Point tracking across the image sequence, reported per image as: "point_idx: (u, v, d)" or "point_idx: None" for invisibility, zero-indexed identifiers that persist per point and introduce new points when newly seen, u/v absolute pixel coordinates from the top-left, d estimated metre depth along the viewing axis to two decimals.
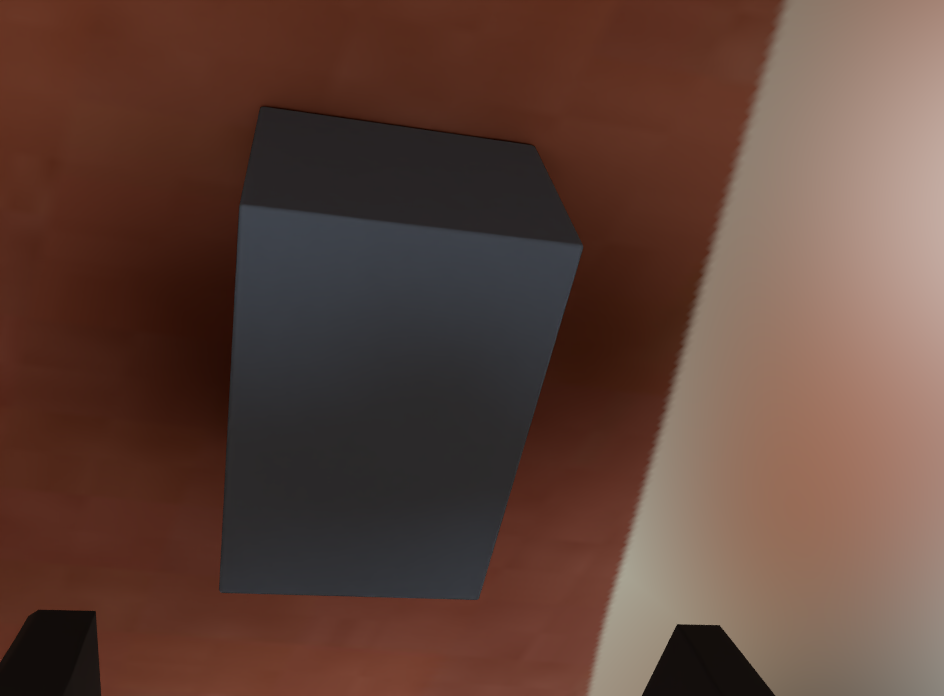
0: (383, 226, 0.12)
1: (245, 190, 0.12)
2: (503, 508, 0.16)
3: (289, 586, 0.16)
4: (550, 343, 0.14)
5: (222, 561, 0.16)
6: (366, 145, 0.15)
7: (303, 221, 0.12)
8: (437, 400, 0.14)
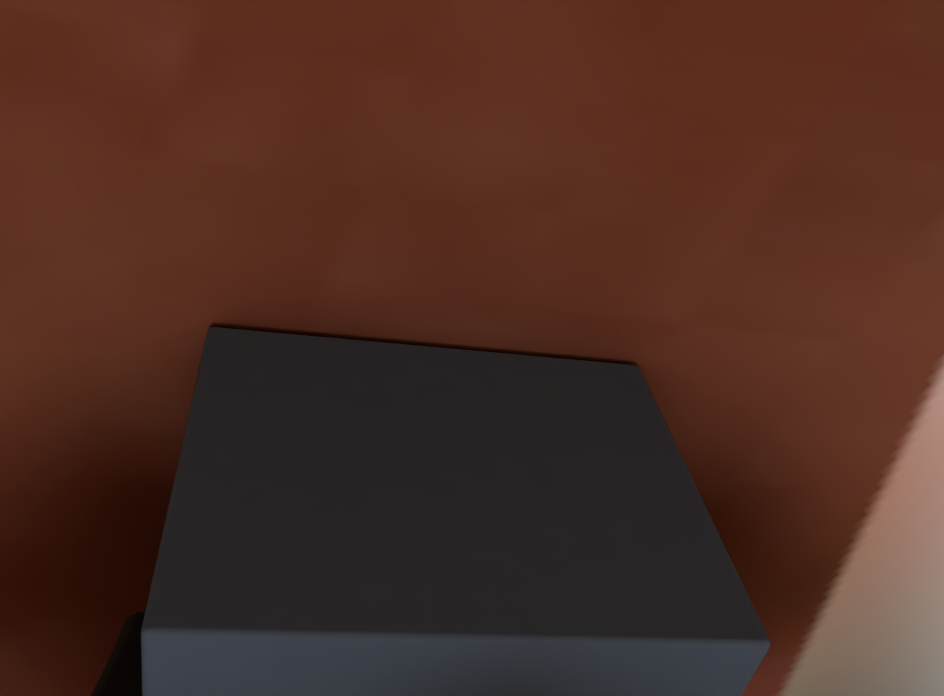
0: (415, 642, 0.07)
1: (157, 579, 0.07)
2: None
3: None
4: None
5: None
6: (379, 405, 0.09)
7: (265, 649, 0.06)
8: None
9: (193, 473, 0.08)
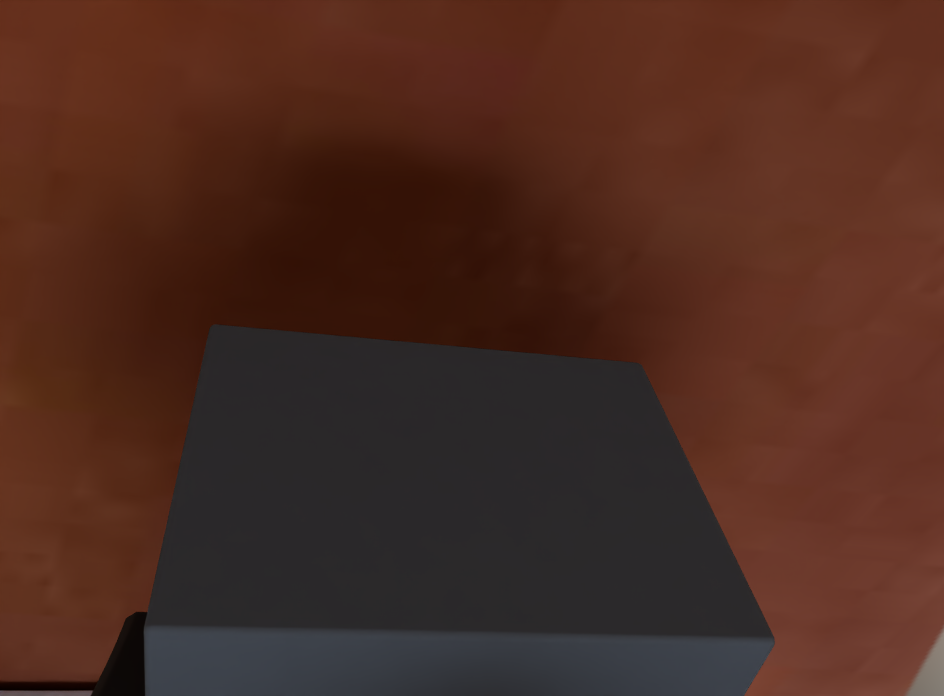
0: (417, 641, 0.07)
1: (160, 576, 0.07)
2: None
3: None
4: None
5: None
6: (382, 402, 0.09)
7: (269, 645, 0.06)
8: None
9: (196, 470, 0.07)
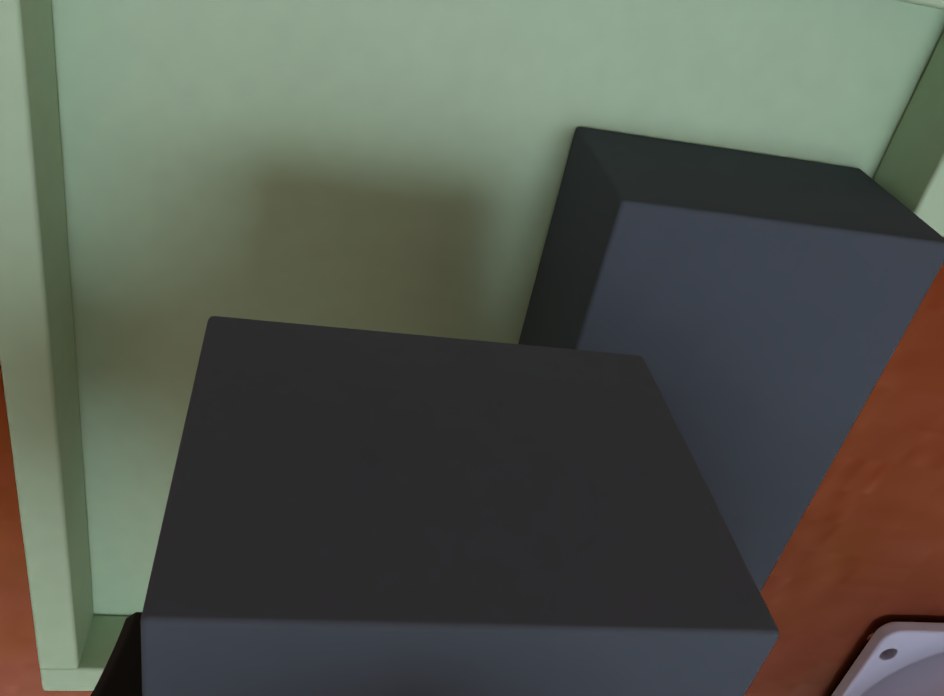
0: (418, 633, 0.06)
1: (157, 567, 0.06)
2: None
3: None
4: None
5: None
6: (382, 394, 0.09)
7: (267, 637, 0.06)
8: None
9: (194, 461, 0.07)
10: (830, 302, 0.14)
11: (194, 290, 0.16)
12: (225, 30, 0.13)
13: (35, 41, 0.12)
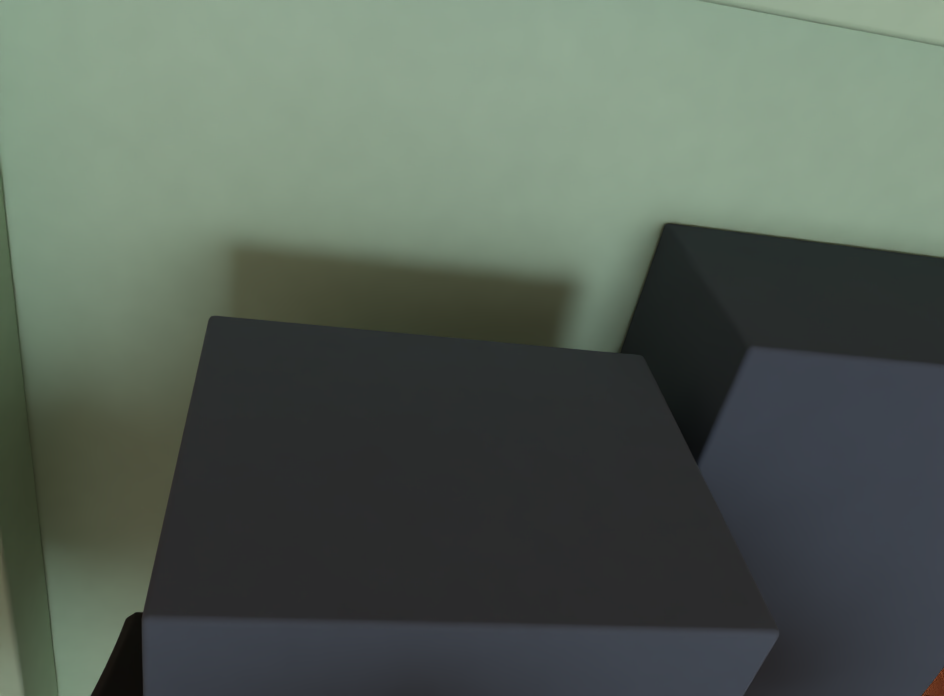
0: (419, 631, 0.06)
1: (158, 566, 0.06)
2: None
3: None
4: None
5: None
6: (383, 393, 0.09)
7: (268, 635, 0.06)
8: None
9: (194, 460, 0.07)
10: None
11: (183, 419, 0.13)
12: (221, 112, 0.10)
13: None
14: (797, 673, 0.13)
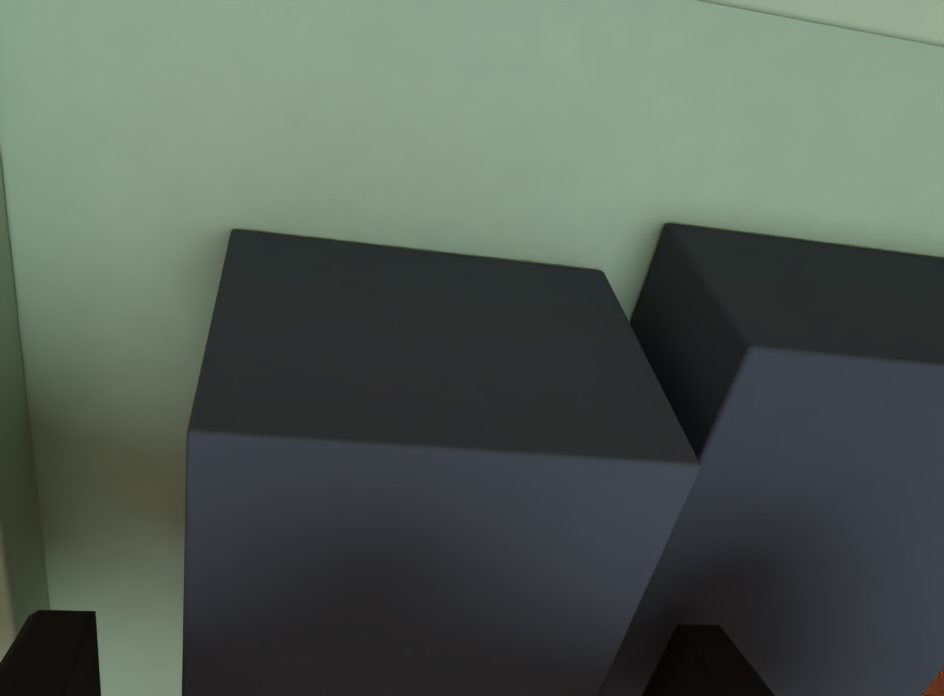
0: (405, 452, 0.08)
1: (198, 399, 0.08)
2: None
3: None
4: (642, 583, 0.10)
5: None
6: (378, 290, 0.10)
7: (286, 451, 0.08)
8: (478, 655, 0.10)
9: (223, 330, 0.09)
10: None
11: (184, 419, 0.13)
12: (222, 112, 0.10)
13: None
14: (797, 673, 0.13)
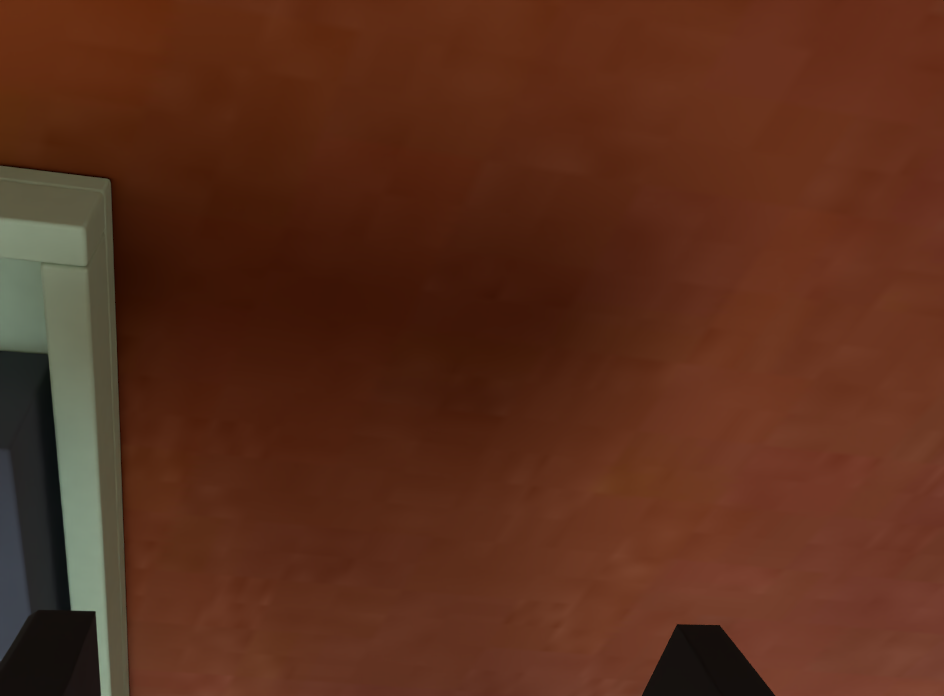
0: None
1: None
2: None
3: None
4: None
5: None
6: None
7: None
8: None
9: None
10: None
11: None
12: None
13: None
14: None
